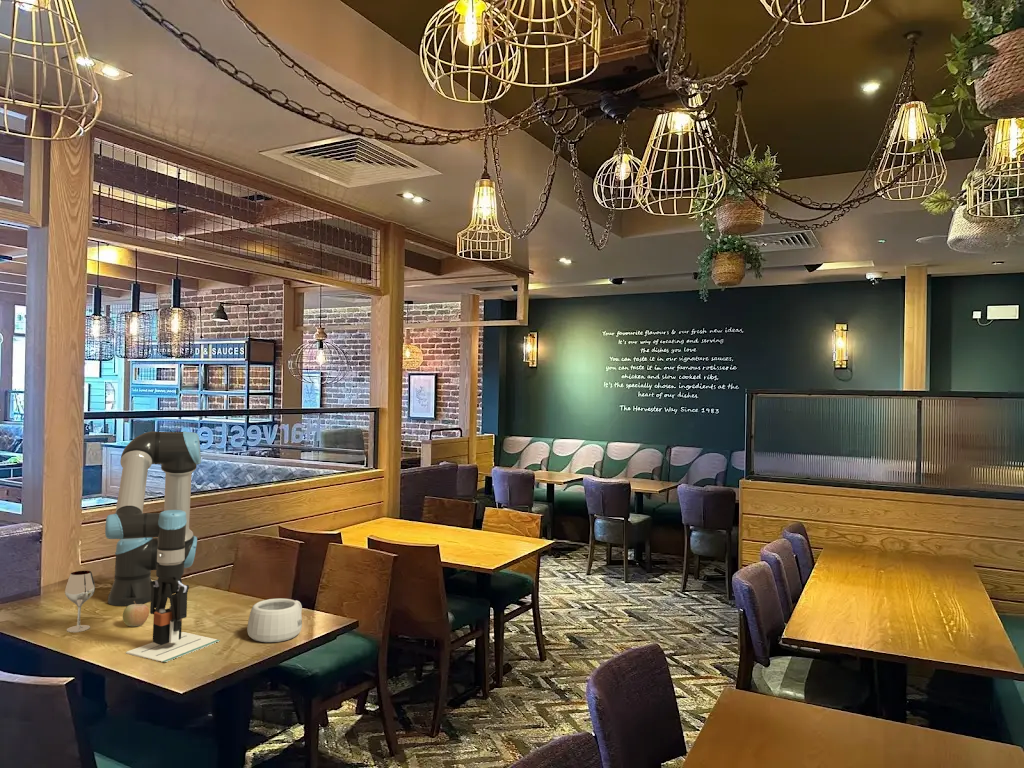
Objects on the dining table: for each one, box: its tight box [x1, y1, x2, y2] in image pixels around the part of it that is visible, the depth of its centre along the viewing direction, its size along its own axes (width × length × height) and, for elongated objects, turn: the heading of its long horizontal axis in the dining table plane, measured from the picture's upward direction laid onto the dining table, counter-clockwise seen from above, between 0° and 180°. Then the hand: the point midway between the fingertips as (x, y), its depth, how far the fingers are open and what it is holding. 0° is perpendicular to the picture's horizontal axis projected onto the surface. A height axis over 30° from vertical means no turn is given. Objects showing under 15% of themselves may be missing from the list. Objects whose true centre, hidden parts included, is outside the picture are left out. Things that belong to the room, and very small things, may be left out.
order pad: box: [125, 631, 221, 663], centre depth 207 cm, size 20×16×1 cm
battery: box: [152, 605, 183, 645], centre depth 207 cm, size 4×7×10 cm, turn 146°
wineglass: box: [64, 570, 96, 633], centre depth 220 cm, size 8×8×18 cm
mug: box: [246, 598, 303, 643], centre depth 223 cm, size 21×17×10 cm
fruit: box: [122, 601, 150, 627], centre depth 225 cm, size 8×7×8 cm
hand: (167, 639), depth 207 cm, fingers closed on battery, 5 cm apart
